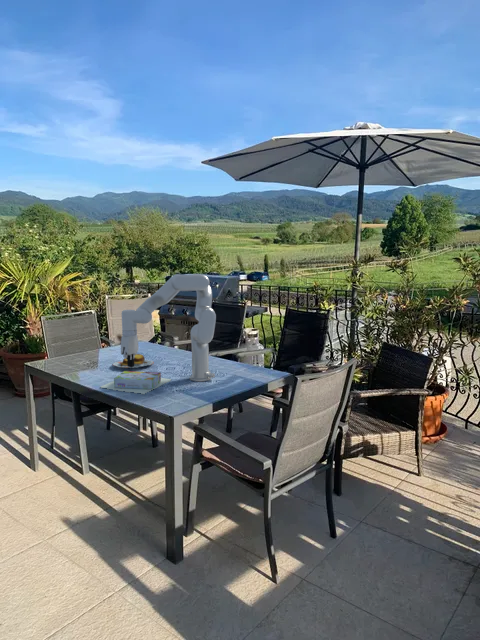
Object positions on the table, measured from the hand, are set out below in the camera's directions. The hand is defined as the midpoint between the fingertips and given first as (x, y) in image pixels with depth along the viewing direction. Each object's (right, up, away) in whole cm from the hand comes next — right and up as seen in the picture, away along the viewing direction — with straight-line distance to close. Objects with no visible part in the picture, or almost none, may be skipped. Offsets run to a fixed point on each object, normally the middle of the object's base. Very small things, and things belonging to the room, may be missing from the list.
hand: (130, 366), depth 229 cm
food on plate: (-9, -5, +43) cm, 45 cm away
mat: (+2, -10, +6) cm, 12 cm away
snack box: (+4, -6, +10) cm, 12 cm away
